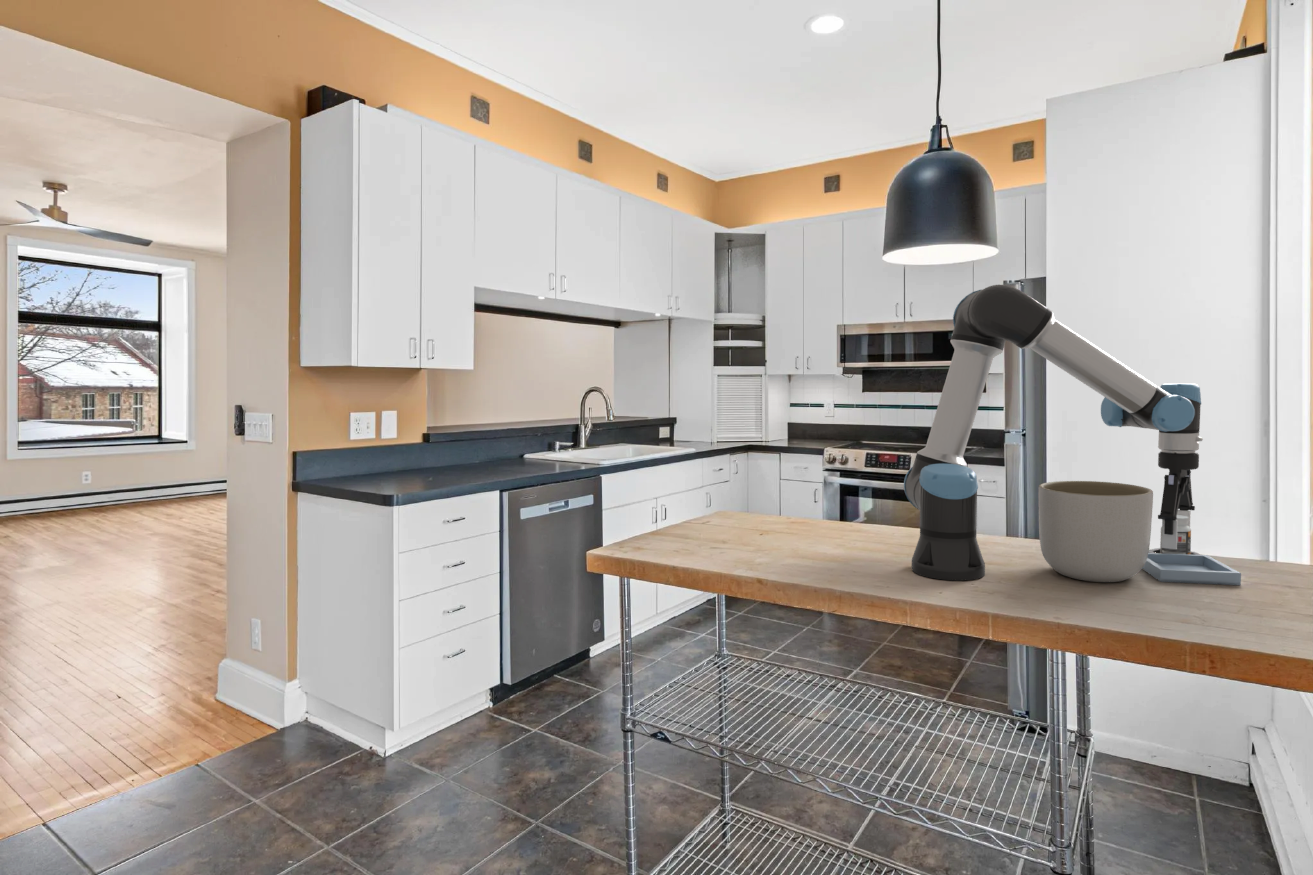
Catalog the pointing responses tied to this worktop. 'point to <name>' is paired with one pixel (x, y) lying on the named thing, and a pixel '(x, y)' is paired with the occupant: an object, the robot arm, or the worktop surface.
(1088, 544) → the planter
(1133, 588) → the worktop surface
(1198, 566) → the tray
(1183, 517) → the pill bottle
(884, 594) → the worktop surface
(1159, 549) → the ring
